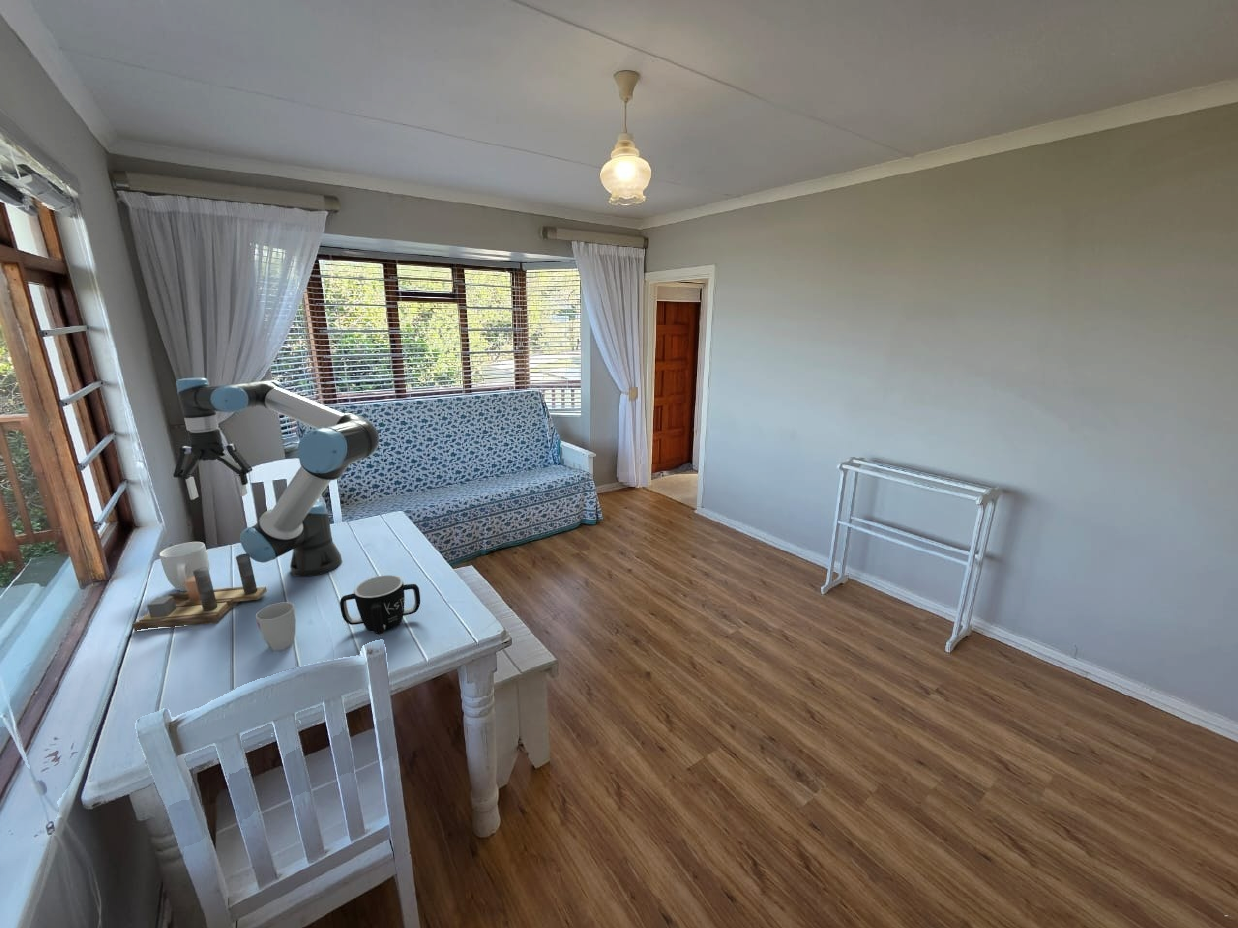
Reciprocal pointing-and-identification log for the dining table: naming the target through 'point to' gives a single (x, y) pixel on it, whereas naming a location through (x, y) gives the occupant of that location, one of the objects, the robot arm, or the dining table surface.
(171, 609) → the rubber block
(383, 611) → the mug
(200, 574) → the strip
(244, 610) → the dining table surface
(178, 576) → the mug
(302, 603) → the dining table surface
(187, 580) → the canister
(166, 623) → the lane board
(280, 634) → the cup
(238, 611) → the dining table surface
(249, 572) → the strip
